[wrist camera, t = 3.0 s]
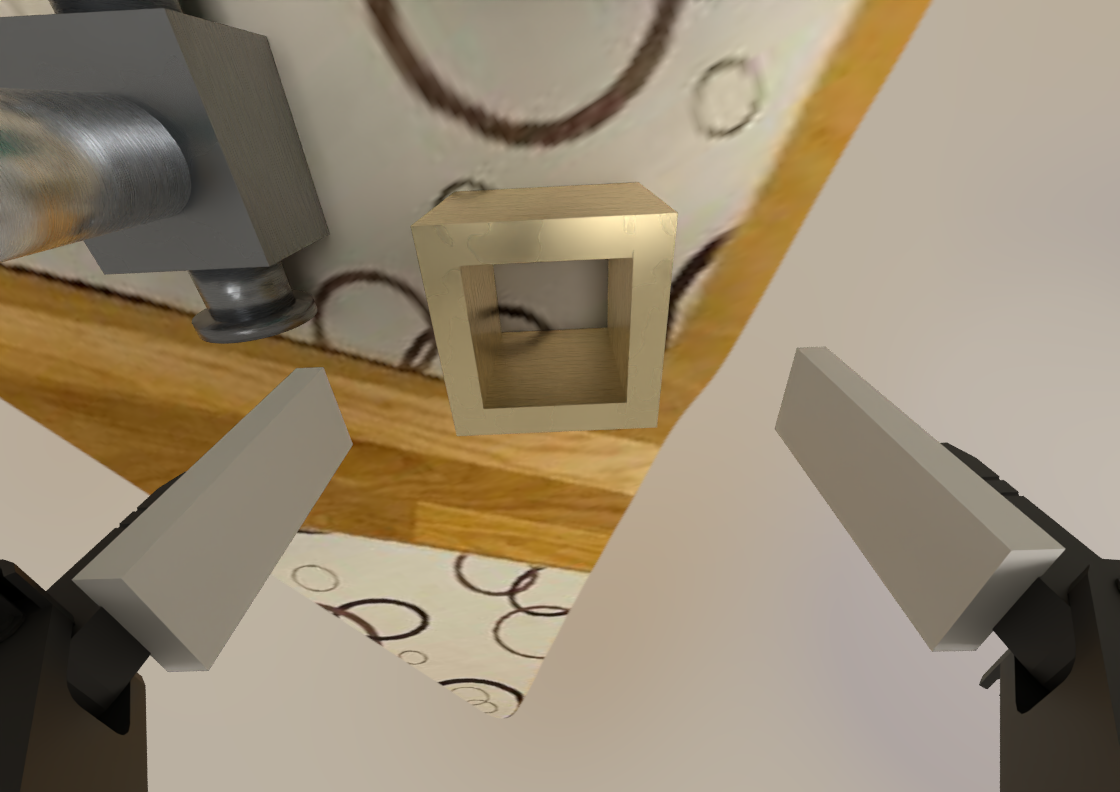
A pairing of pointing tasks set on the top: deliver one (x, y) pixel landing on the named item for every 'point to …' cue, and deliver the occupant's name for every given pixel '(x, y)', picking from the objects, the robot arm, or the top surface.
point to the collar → (551, 355)
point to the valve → (157, 156)
